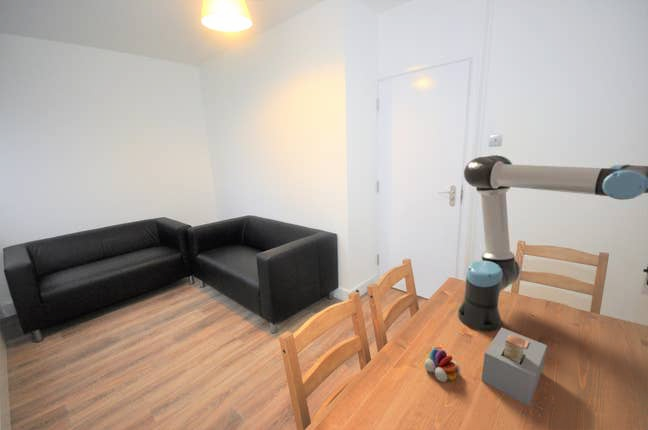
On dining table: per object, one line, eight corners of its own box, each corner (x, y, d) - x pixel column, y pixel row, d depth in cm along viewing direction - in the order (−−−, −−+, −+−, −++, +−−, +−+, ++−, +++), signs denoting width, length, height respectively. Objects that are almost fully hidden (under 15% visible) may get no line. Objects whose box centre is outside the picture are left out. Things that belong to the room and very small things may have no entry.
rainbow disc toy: (445, 388, 81) (446, 368, 79) (419, 366, 90) (421, 347, 88) (464, 377, 85) (466, 357, 83) (438, 356, 93) (439, 338, 92)
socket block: (481, 380, 83) (485, 351, 81) (497, 352, 94) (501, 326, 91) (529, 406, 75) (535, 375, 72) (541, 372, 85) (547, 344, 83)
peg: (501, 366, 81) (505, 340, 78) (505, 359, 83) (509, 333, 81) (517, 374, 78) (522, 347, 76) (520, 366, 81) (525, 340, 78)
